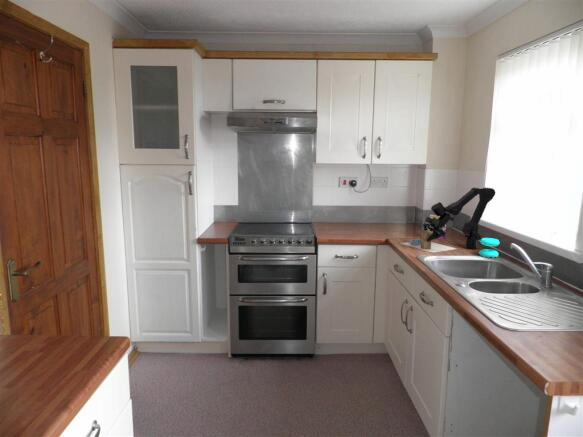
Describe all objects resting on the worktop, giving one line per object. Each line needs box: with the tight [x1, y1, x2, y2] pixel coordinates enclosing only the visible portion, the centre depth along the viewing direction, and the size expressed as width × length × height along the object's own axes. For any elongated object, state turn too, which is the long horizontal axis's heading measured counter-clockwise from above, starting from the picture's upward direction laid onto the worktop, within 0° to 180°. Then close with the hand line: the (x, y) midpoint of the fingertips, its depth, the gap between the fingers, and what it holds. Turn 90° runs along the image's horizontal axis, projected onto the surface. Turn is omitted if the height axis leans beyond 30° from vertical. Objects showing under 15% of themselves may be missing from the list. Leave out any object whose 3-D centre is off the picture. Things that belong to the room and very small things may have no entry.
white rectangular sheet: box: [400, 241, 457, 253], centre depth 250 cm, size 21×27×1 cm
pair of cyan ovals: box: [479, 237, 501, 259], centre depth 229 cm, size 10×10×10 cm
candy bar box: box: [428, 214, 447, 240], centre depth 275 cm, size 11×5×16 cm, turn 74°
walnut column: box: [420, 229, 432, 251], centre depth 242 cm, size 4×4×11 cm
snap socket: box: [409, 239, 421, 246], centre depth 255 cm, size 8×8×2 cm
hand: (424, 239), depth 242 cm, fingers open, 8 cm apart
